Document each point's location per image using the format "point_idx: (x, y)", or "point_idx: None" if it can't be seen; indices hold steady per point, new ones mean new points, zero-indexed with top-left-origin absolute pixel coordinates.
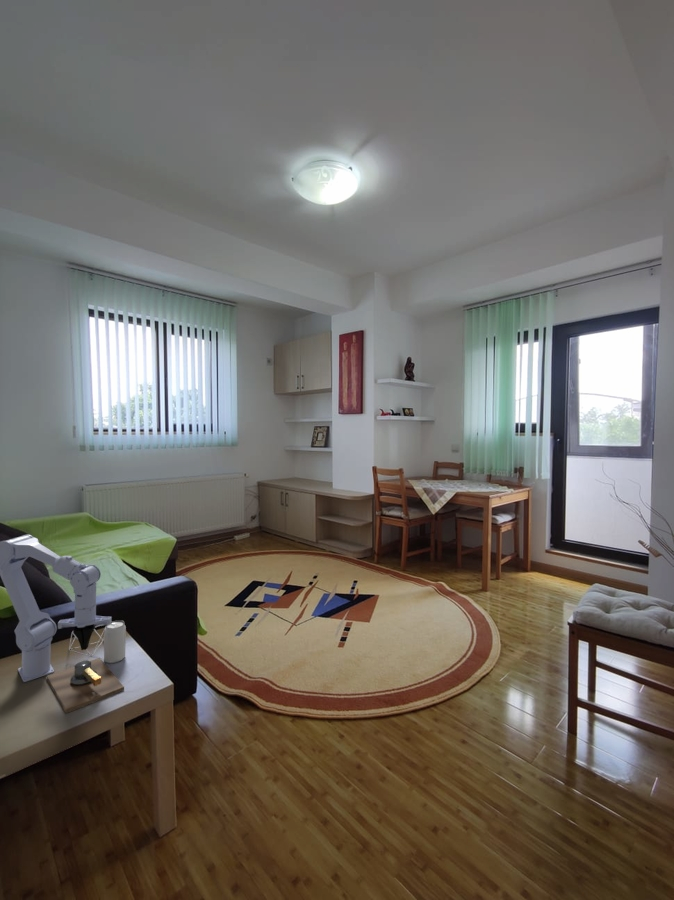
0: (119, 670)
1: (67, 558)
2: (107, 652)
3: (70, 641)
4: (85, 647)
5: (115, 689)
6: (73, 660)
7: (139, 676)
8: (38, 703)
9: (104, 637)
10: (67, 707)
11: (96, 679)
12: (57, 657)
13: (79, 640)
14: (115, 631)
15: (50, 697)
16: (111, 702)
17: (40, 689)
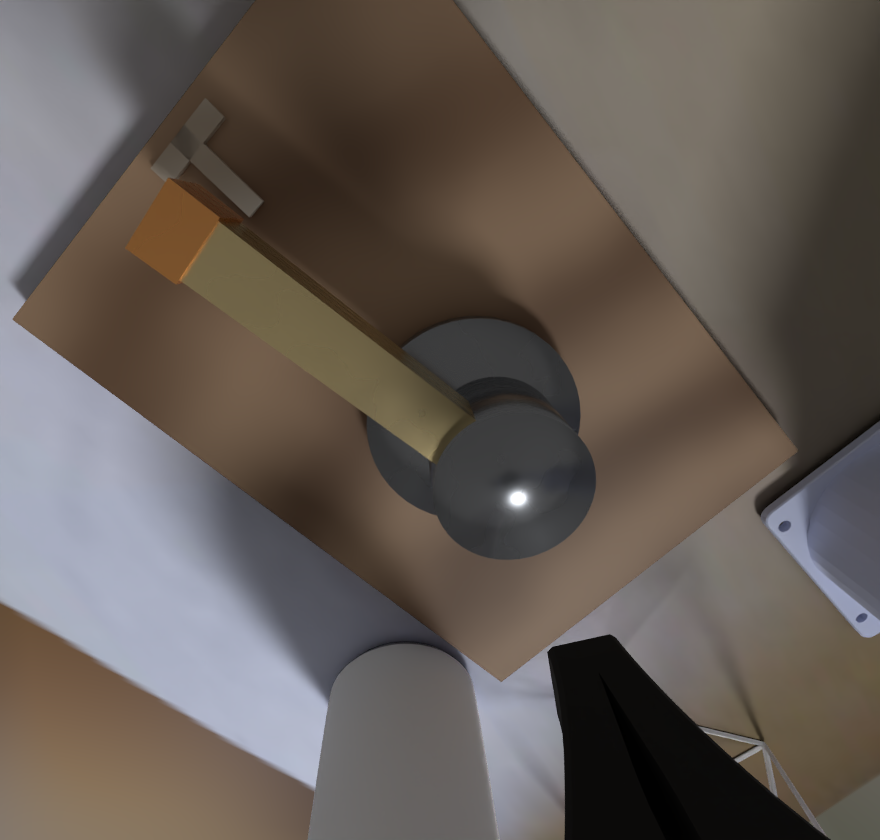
0: (273, 570)
1: None
2: (426, 716)
3: (803, 803)
4: (565, 672)
5: (64, 270)
6: (683, 649)
7: (44, 508)
8: (704, 90)
9: None
10: None
11: (157, 197)
12: (804, 669)
13: (736, 782)
14: None
15: (640, 187)
16: (9, 106)
17: (771, 302)
